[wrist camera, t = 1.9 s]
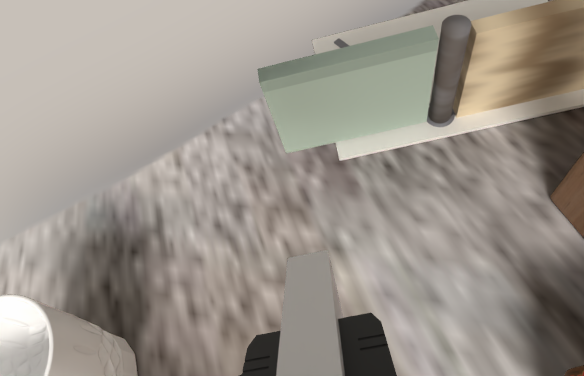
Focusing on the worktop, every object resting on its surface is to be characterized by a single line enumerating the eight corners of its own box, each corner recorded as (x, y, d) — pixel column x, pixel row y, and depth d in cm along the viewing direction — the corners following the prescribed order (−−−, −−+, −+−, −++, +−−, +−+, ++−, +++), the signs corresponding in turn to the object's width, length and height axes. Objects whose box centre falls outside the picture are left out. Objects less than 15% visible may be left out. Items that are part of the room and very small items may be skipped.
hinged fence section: (422, 110, 36) (432, 25, 28) (426, 122, 35) (438, 38, 27) (284, 141, 37) (257, 68, 29) (286, 154, 36) (259, 82, 28)
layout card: (534, -14, 41) (536, -18, 40) (611, 100, 33) (613, 96, 33) (312, 42, 43) (311, 39, 42) (339, 160, 36) (339, 157, 35)
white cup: (126, 305, 33) (35, 267, 25) (161, 400, 29) (68, 396, 21) (36, 362, 33) (-90, 344, 24) (60, 467, 29) (-80, 491, 20)
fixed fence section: (593, 74, 35) (662, -38, 26) (604, 90, 34) (679, -20, 25) (425, 112, 36) (438, 18, 28) (431, 129, 35) (446, 37, 27)
